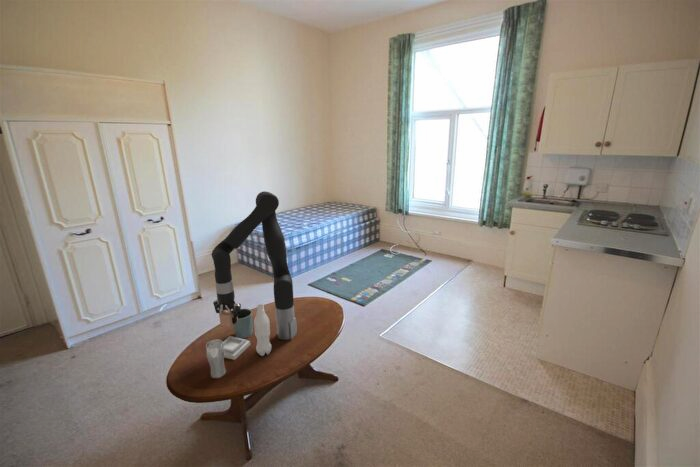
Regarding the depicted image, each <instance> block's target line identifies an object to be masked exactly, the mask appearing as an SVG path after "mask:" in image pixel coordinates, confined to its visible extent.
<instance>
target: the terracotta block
mask: <svg viewBox="0 0 700 467" xmlns="http://www.w3.org/2000/svg"><path fill="white" fill-rule="evenodd" d="M231 310H232V309H231ZM233 314H234V312H233ZM218 315H219V316H218V317H219V323H220V326H221V327H222V326H223V327H227V328H232V327H234V324H233V323H232V316H231V314H230V313H229V312H228V311H227V310H224V311H223V312H221V313H220V314H219V313H218ZM237 322H238V317H237Z"/></svg>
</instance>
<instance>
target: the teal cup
mask: <svg viewBox="0 0 700 467" xmlns="http://www.w3.org/2000/svg"><path fill="white" fill-rule="evenodd" d="M237 317H238V322H236V323H235V324H234V325H233V329H234V333H235V337H237V338H241V339H246V338H248V337H251V336H252V334H253V332H254V331H253V329H254V325H253V312H252V310H251V309H249V308H241V310H240V315H238V316H237Z"/></svg>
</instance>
